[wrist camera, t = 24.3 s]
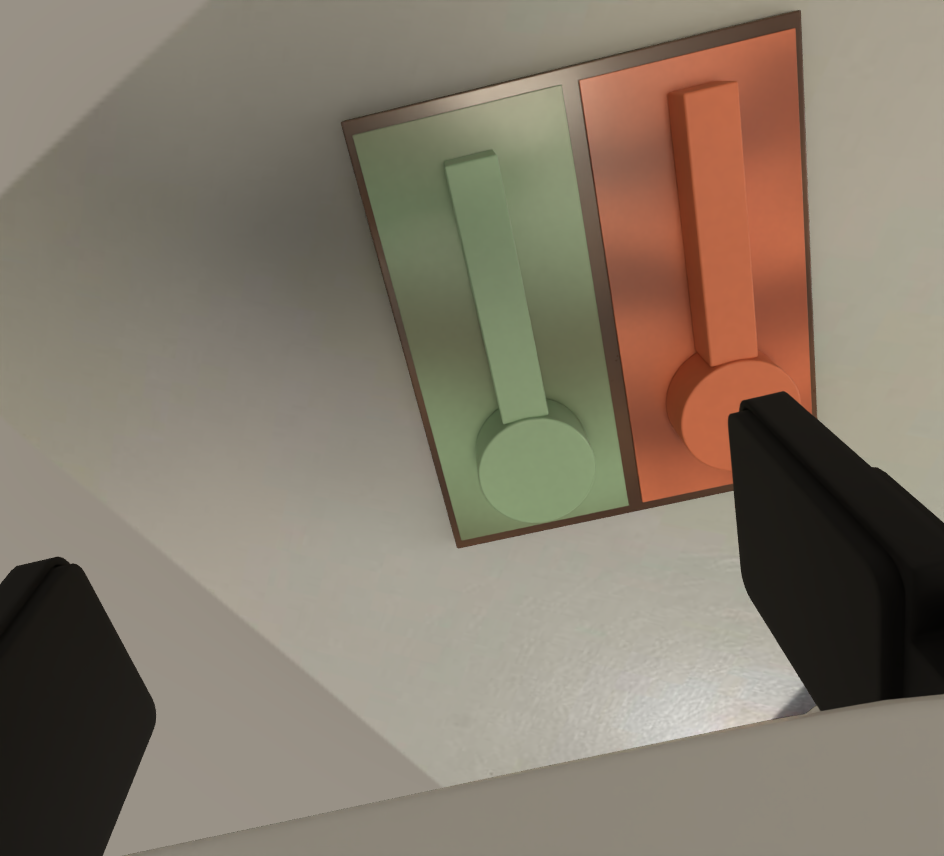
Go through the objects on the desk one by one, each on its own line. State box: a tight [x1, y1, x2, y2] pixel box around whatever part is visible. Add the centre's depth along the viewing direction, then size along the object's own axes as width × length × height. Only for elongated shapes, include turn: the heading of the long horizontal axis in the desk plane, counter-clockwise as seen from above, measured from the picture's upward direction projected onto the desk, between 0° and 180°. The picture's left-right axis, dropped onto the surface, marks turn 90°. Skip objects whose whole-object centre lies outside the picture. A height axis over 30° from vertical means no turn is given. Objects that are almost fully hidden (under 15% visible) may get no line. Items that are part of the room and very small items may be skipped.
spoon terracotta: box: [666, 81, 801, 471], centre depth 29 cm, size 14×5×2 cm, turn 13°
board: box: [341, 10, 817, 548], centre depth 30 cm, size 18×16×1 cm
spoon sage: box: [444, 150, 596, 523], centre depth 29 cm, size 14×5×2 cm, turn 13°
